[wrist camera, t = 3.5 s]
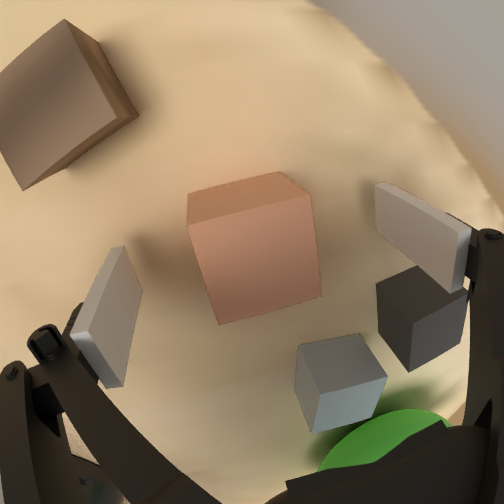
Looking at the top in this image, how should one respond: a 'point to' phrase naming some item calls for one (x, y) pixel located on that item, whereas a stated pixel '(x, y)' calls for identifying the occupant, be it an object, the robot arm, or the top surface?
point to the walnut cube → (58, 103)
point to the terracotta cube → (254, 245)
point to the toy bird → (378, 437)
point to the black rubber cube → (419, 316)
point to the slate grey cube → (337, 382)
